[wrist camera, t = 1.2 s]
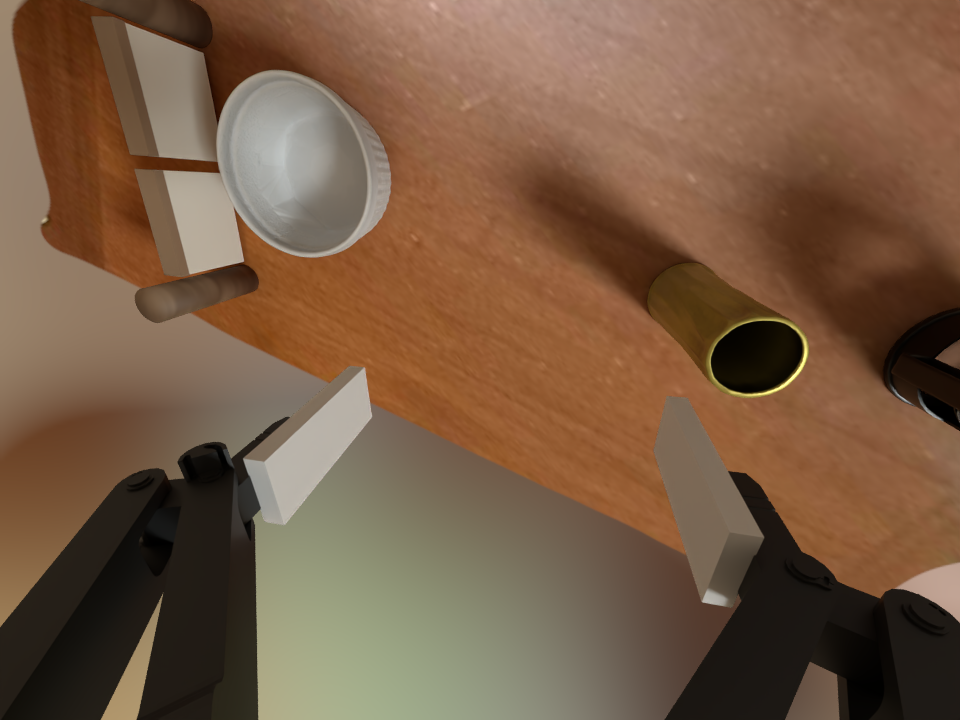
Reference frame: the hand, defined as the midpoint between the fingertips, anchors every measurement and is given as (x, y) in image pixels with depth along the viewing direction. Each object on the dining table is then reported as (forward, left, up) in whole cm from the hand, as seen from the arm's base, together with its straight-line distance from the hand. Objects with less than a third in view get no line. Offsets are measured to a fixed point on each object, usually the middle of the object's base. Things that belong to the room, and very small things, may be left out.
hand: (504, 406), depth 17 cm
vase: (-1, +13, -23) cm, 26 cm away
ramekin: (-9, -20, -23) cm, 31 cm away
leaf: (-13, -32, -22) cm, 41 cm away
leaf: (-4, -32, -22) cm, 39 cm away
